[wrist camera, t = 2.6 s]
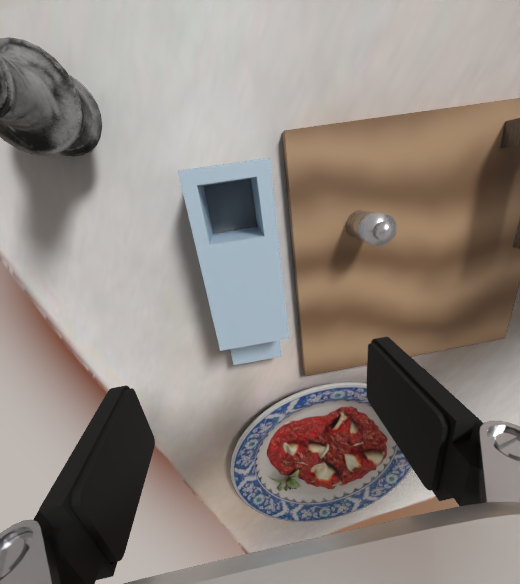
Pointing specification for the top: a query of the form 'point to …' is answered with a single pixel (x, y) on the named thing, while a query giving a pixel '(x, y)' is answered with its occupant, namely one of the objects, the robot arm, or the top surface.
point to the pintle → (371, 227)
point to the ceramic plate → (317, 456)
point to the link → (240, 263)
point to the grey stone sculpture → (44, 103)
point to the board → (404, 232)
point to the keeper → (513, 135)
